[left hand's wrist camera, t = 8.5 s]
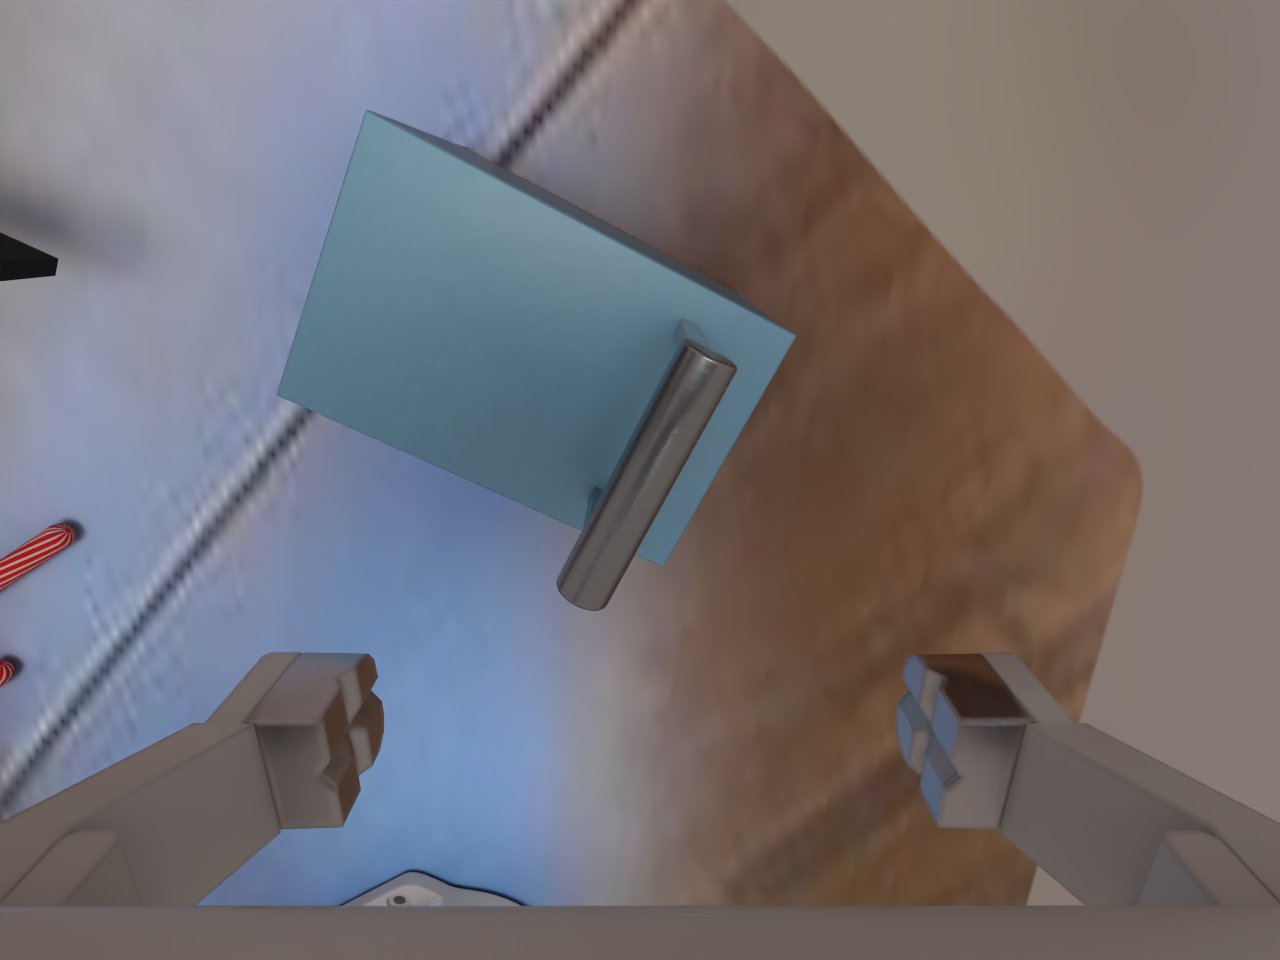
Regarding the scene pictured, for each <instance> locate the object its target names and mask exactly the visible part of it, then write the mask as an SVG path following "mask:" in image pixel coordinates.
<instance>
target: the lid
mask: <svg viewBox="0 0 1280 960" xmlns="http://www.w3.org/2000/svg"><path fill="white" fill-rule="evenodd" d="M795 337H796V335H795V334H794V333H793V332H791V331H790V330H789V329H787V328H785V327H783V326H781V325H779V324H777V323H776V322H774V321H772V320H770V319H768V318H766V317H764V316H762V315H760V314H758V313H757V312H755V311H753V310H751V309H749V308H747V307H745V306H743V305H741V304H739V303H738V302H736V301H734V300H732V299H730V298H728V297H726V296H724V295H722V294H720V293H719V292H717V291H715V290H713V289H711V288H709V287H707V286H705V285H703V284H701V283H700V282H698V281H696V280H694V279H692V278H690V277H688V276H686V275H684V274H682V273H681V272H679V271H677V270H675V269H673V268H671V267H669V266H667V265H665V264H663V263H661V262H660V261H658V260H656V259H654V258H652V257H650V256H648V255H646V254H644V253H642V252H641V251H639V250H637V249H635V248H633V247H631V246H629V245H627V244H625V243H623V242H622V241H620V240H618V239H616V238H614V237H612V236H610V235H608V234H606V233H604V232H603V231H601V230H599V229H597V228H595V227H593V226H591V225H589V224H587V223H585V222H584V221H582V220H580V219H578V218H576V217H574V216H572V215H570V214H568V213H566V212H565V211H563V210H561V209H559V208H557V207H555V206H553V205H551V204H549V203H547V202H546V201H544V200H542V199H540V198H538V197H536V196H534V195H532V194H530V193H528V192H526V191H525V190H523V189H521V188H519V187H517V186H515V185H513V184H511V183H509V182H507V181H506V180H504V179H502V178H500V177H498V176H496V175H494V174H492V173H490V172H488V171H487V170H485V169H483V168H481V167H479V166H477V165H475V164H473V163H471V162H469V161H468V160H466V159H464V158H462V157H460V156H458V155H456V154H454V153H452V152H450V151H449V150H447V149H445V148H443V147H441V146H439V145H437V144H435V143H433V142H431V141H430V140H428V139H426V138H424V137H422V136H420V135H418V134H416V133H414V132H412V131H411V130H409V129H407V128H405V127H403V126H401V125H399V124H397V123H395V122H393V121H391V120H390V119H388V118H386V117H384V116H382V115H380V114H377V113H375V112H372V111H369V110H366V112H365V115H364V118H363V121H362V124H361V127H360V131H359V134H358V137H357V140H356V143H355V147H354V150H353V153H352V156H351V159H350V163H349V166H348V169H347V172H346V175H345V178H344V182H343V185H342V188H341V191H340V194H339V198H338V201H337V204H336V207H335V210H334V214H333V217H332V220H331V223H330V226H329V229H328V233H327V236H326V239H325V242H324V245H323V249H322V252H321V255H320V258H319V261H318V265H317V268H316V271H315V274H314V277H313V281H312V284H311V287H310V290H309V293H308V296H307V300H306V303H305V306H304V309H303V312H302V316H301V319H300V322H299V325H298V328H297V332H296V335H295V338H294V341H293V344H292V347H291V351H290V354H289V357H288V360H287V363H286V367H285V370H284V373H283V376H282V379H281V383H280V386H279V389H278V392H277V395H278V396H280V397H282V398H285V399H287V400H289V401H291V402H294V403H296V404H298V405H300V406H303V407H305V408H307V409H309V410H312V411H314V412H316V413H318V414H321V415H323V416H325V417H327V418H330V419H332V420H334V421H336V422H339V423H341V424H343V425H345V426H348V427H350V428H352V429H354V430H357V431H359V432H361V433H363V434H366V435H368V436H370V437H372V438H375V439H377V440H379V441H381V442H384V443H386V444H388V445H390V446H393V447H395V448H397V449H399V450H402V451H404V452H406V453H408V454H411V455H413V456H415V457H417V458H420V459H422V460H424V461H426V462H429V463H431V464H433V465H435V466H438V467H440V468H442V469H444V470H447V471H449V472H451V473H453V474H456V475H458V476H460V477H462V478H465V479H467V480H469V481H471V482H474V483H476V484H478V485H480V486H483V487H485V488H487V489H489V490H492V491H494V492H496V493H498V494H501V495H503V496H505V497H507V498H510V499H512V500H514V501H516V502H519V503H521V504H523V505H525V506H528V507H530V508H532V509H534V510H537V511H539V512H541V513H543V514H546V515H548V516H550V517H552V518H554V519H557V520H559V521H561V522H563V523H566V524H568V525H570V526H572V527H575V528H577V529H579V530H581V531H582V532H581V534H580V536H579V538H578V540H577V542H576V543H575V545H574V547H573V549H572V551H571V553H570V555H569V557H568V559H567V561H566V563H565V565H564V567H563V569H562V571H561V572H560V574H559V576H558V578H557V588H558V590H559V592H560V593H561V595H562V596H563V597H564V598H565V599H566V600H568V601H569V602H570V603H572V604H574V605H575V606H578V607H580V608H582V609H586V610H591V611H598V610H601V609H603V608H604V607H606V606H607V604H608V602H609V600H610V598H611V597H612V595H613V593H614V591H615V589H616V588H617V586H618V584H619V582H620V580H621V579H622V577H623V575H624V573H625V571H626V570H627V568H628V566H629V564H630V562H631V561H632V559H633V557H634V555H638V556H640V557H642V558H644V559H647V560H649V561H651V562H653V563H656V564H658V565H660V566H664V565H665V563H666V561H667V559H668V558H669V556H670V554H671V552H672V551H673V549H674V547H675V545H676V544H677V542H678V540H679V539H680V537H681V535H682V533H683V532H684V530H685V528H686V526H687V525H688V523H689V521H690V519H691V518H692V516H693V514H694V513H695V511H696V509H697V507H698V506H699V504H700V502H701V500H702V499H703V497H704V495H705V493H706V492H707V490H708V488H709V487H710V485H711V483H712V481H713V480H714V478H715V476H716V474H717V473H718V471H719V469H720V467H721V466H722V464H723V462H724V461H725V459H726V457H727V455H728V454H729V452H730V450H731V448H732V447H733V445H734V443H735V441H736V440H737V438H738V436H739V435H740V433H741V431H742V429H743V428H744V426H745V424H746V422H747V421H748V419H749V417H750V415H751V414H752V412H753V410H754V409H755V407H756V405H757V403H758V402H759V400H760V398H761V396H762V395H763V393H764V391H765V389H766V388H767V386H768V384H769V383H770V381H771V379H772V377H773V376H774V374H775V372H776V370H777V369H778V367H779V365H780V363H781V362H782V360H783V358H784V357H785V355H786V353H787V351H788V350H789V348H790V346H791V344H792V343H793V341H794V339H795Z"/></svg>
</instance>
